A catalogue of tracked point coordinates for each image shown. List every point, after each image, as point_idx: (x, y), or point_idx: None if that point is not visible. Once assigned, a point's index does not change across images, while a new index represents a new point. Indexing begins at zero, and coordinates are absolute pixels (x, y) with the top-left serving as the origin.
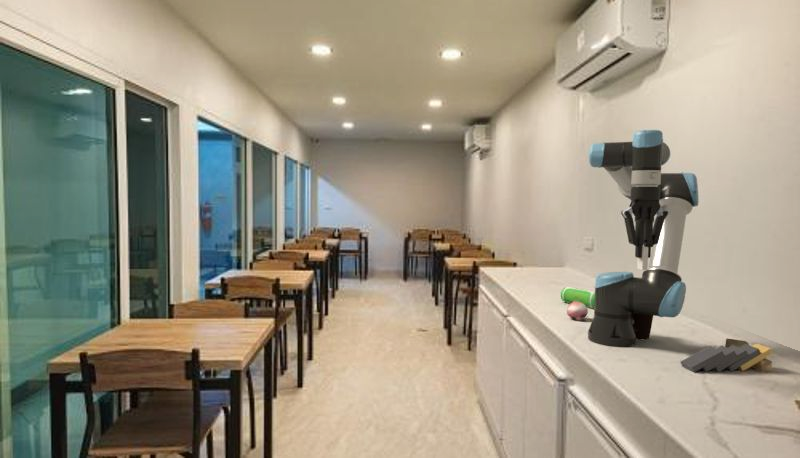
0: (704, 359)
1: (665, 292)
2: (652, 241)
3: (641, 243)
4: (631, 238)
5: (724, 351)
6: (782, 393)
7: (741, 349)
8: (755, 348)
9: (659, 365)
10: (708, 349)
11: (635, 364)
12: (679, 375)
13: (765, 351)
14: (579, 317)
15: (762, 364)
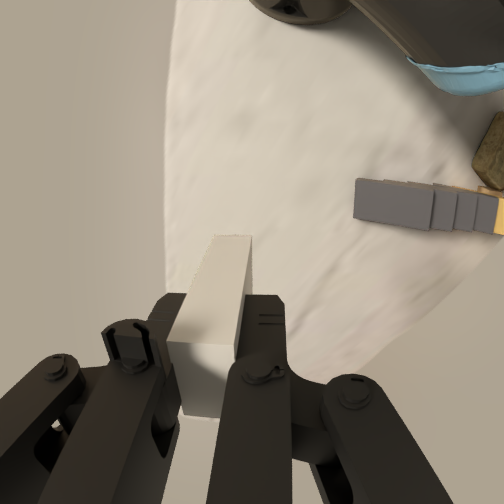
0: (387, 220)
1: (452, 63)
2: (302, 455)
3: (156, 438)
4: (42, 443)
5: (441, 215)
6: (413, 313)
7: (471, 222)
8: (492, 227)
9: (311, 165)
10: (421, 198)
11: (258, 155)
12: (313, 229)
13: (498, 233)
14: None
15: None
